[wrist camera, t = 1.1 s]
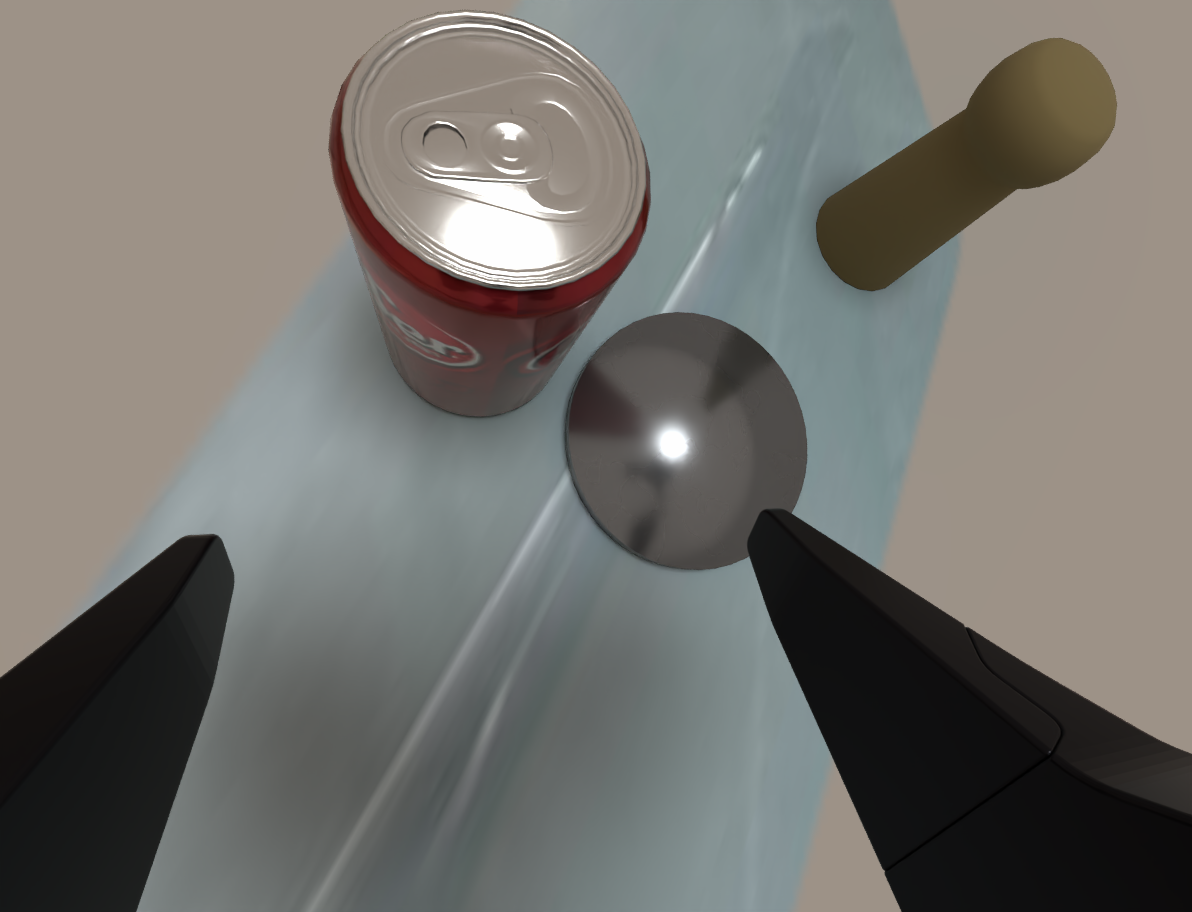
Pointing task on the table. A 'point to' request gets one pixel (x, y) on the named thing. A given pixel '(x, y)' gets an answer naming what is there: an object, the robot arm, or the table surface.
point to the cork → (971, 162)
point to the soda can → (485, 200)
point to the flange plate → (684, 439)
